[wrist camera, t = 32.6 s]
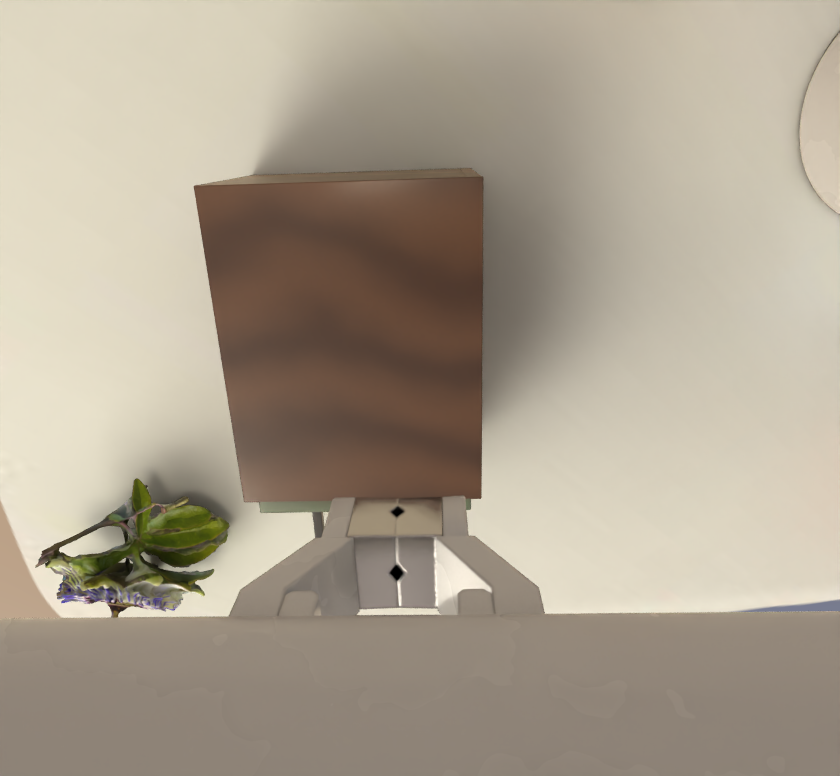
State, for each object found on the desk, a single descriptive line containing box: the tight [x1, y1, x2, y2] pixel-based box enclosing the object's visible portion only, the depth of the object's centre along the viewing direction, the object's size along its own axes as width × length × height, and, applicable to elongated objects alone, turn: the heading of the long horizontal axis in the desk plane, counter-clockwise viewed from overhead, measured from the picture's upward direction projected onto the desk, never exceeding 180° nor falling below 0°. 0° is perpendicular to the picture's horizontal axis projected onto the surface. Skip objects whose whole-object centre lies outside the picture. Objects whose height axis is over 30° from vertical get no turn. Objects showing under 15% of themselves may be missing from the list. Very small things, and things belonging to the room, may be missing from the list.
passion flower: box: [35, 479, 229, 618], centre depth 48 cm, size 11×11×12 cm
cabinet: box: [194, 168, 483, 502], centre depth 39 cm, size 19×15×11 cm
